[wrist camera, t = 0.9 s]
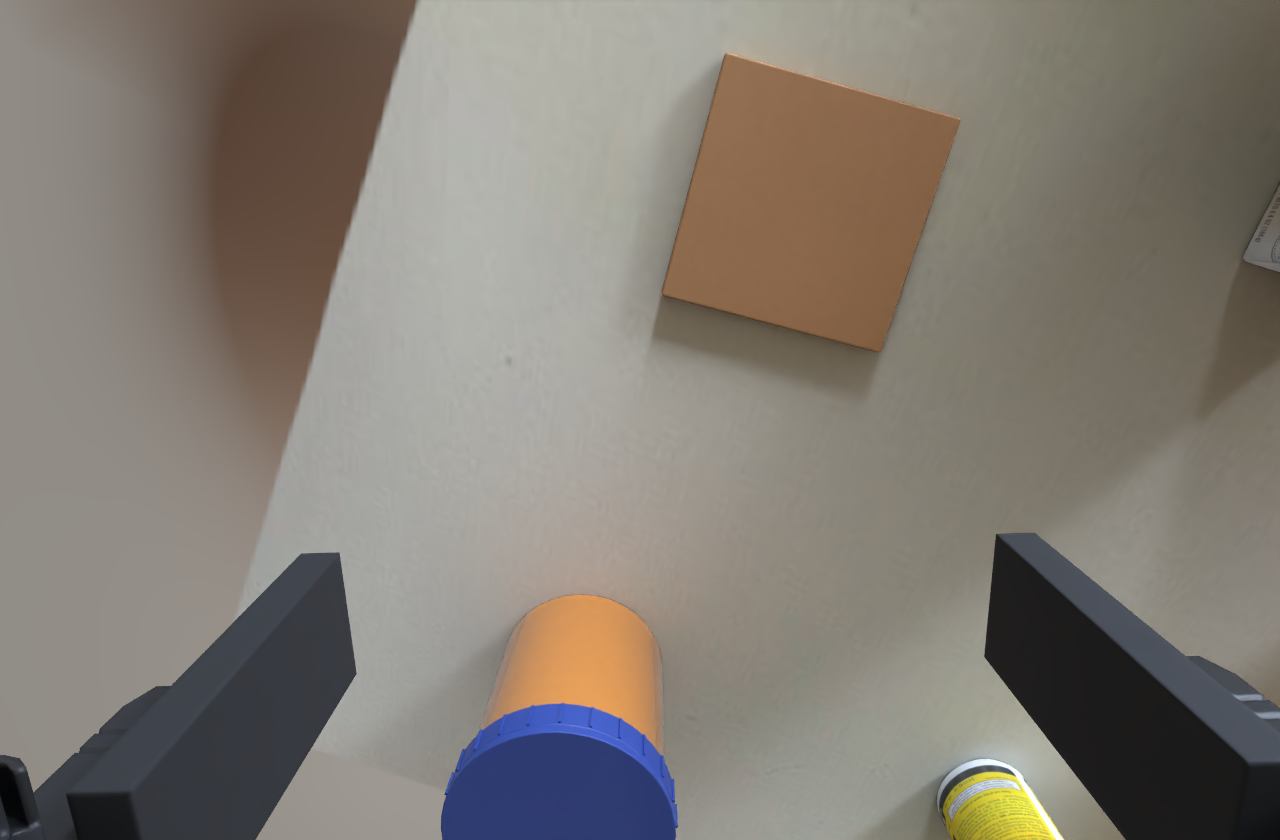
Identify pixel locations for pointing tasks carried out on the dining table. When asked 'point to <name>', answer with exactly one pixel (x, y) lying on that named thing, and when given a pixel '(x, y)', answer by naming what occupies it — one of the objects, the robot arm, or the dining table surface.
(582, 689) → the jar
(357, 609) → the dining table surface
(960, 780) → the supplement bottle
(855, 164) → the coaster
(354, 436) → the dining table surface
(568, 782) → the lid
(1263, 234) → the coffee box
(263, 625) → the robot arm
